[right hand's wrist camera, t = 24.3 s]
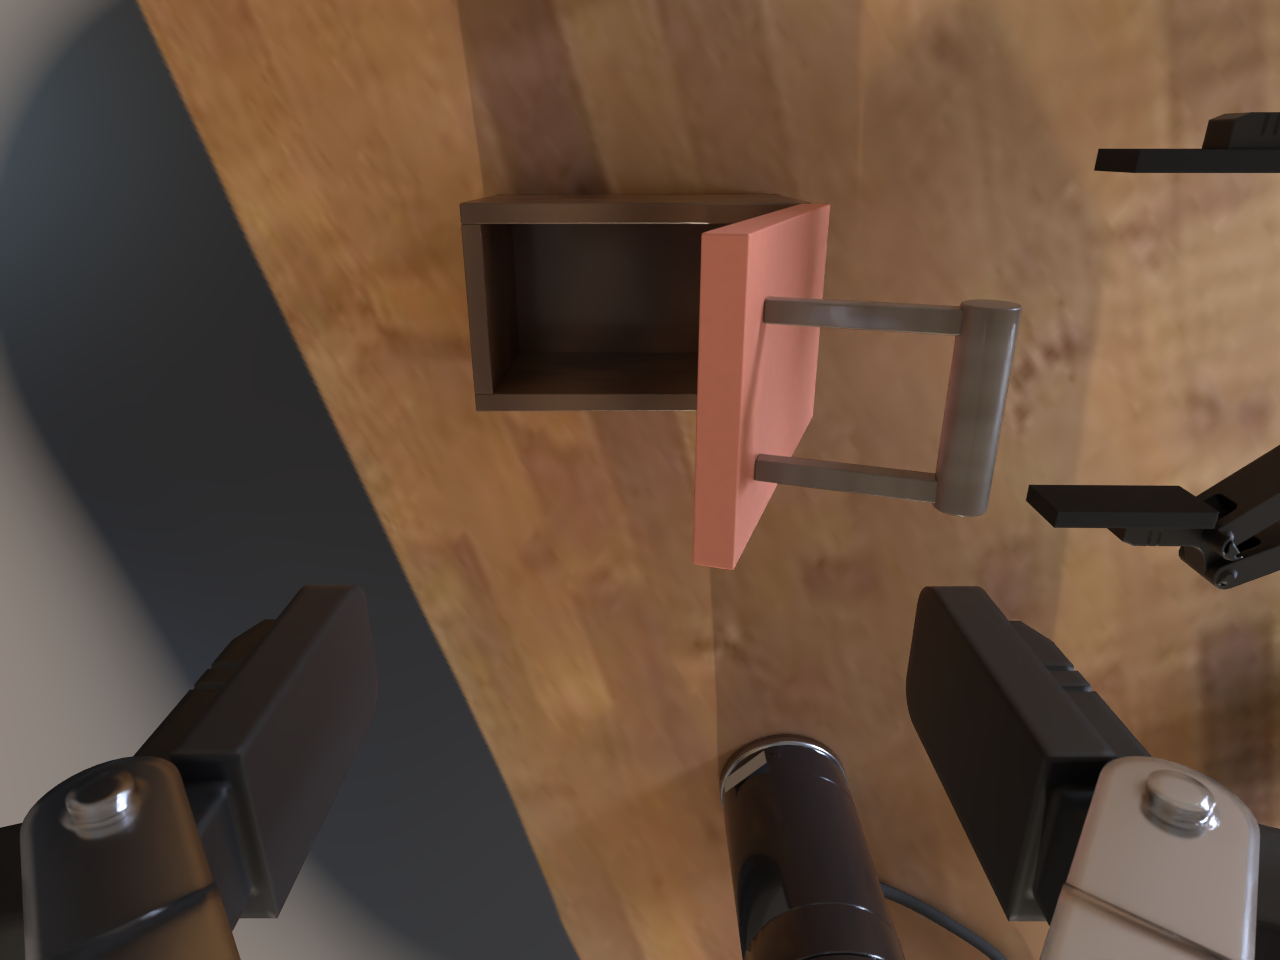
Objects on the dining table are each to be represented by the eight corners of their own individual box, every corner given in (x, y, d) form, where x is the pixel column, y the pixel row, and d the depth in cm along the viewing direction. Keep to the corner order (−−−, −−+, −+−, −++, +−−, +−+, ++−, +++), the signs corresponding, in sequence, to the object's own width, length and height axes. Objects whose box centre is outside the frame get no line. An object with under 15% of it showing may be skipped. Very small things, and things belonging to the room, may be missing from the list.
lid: (692, 564, 24) (980, 611, 21) (700, 232, 20) (1047, 241, 18) (786, 414, 38) (965, 431, 36) (800, 203, 35) (1001, 206, 32)
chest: (507, 363, 48) (476, 411, 39) (497, 194, 44) (459, 203, 35) (766, 363, 48) (796, 411, 39) (776, 194, 44) (812, 202, 35)
